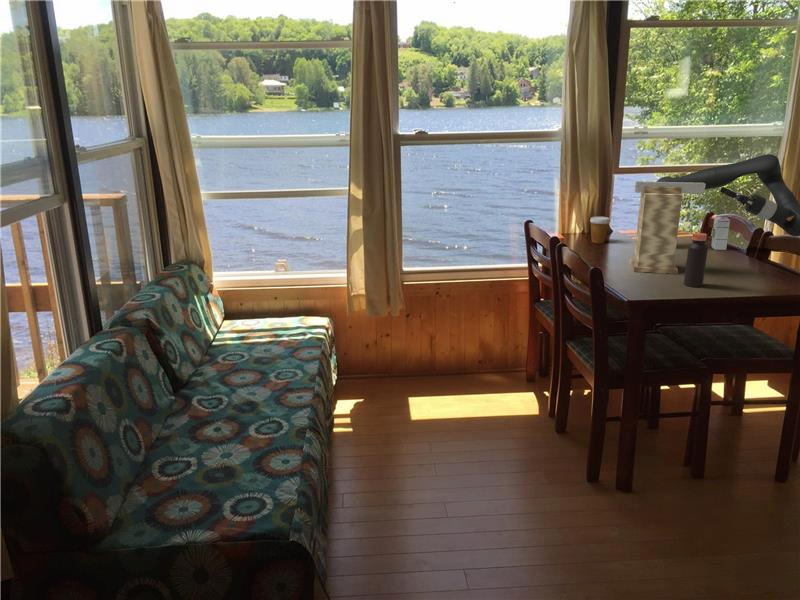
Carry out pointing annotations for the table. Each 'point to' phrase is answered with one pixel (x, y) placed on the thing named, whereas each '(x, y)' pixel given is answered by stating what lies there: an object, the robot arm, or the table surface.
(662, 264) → the post
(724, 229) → the syrup box
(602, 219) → the disposable coffee cup
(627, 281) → the table surface
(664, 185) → the rail
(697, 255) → the bottle
